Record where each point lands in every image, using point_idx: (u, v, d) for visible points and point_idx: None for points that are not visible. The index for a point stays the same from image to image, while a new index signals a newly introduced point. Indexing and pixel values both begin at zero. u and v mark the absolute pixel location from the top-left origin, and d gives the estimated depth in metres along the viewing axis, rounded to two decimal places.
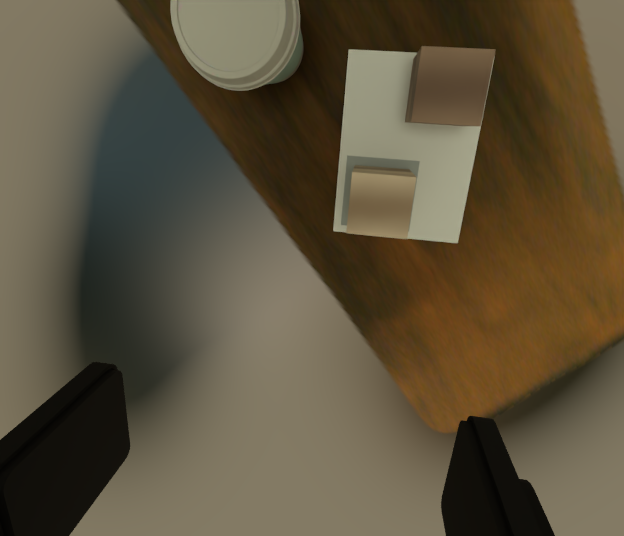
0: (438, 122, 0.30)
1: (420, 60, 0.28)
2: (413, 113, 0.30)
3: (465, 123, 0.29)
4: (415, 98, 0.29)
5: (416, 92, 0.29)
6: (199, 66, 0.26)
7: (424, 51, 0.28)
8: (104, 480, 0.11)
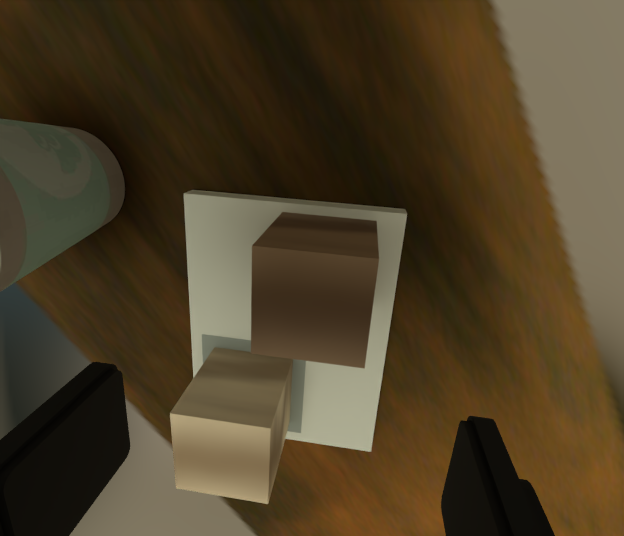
0: (295, 357, 0.17)
1: (253, 266, 0.16)
2: (253, 342, 0.17)
3: (339, 362, 0.17)
4: (252, 321, 0.17)
5: (253, 313, 0.17)
6: None
7: (257, 254, 0.16)
8: (104, 480, 0.11)
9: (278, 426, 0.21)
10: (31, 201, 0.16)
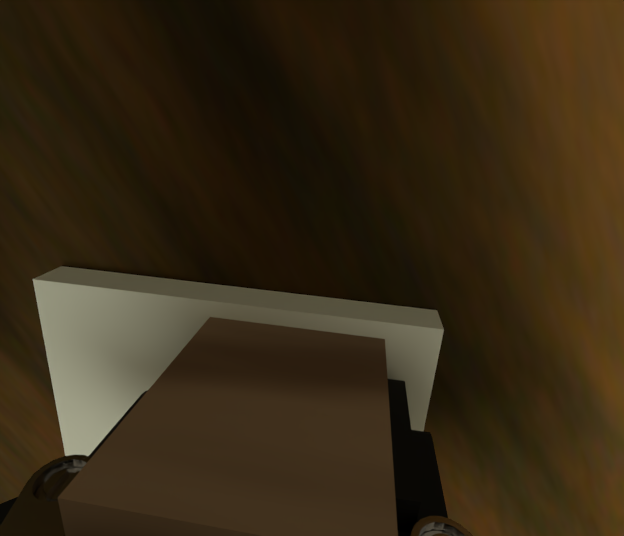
0: None
1: None
2: None
3: None
4: None
5: None
6: None
7: (75, 516, 0.06)
8: None
9: None
10: None
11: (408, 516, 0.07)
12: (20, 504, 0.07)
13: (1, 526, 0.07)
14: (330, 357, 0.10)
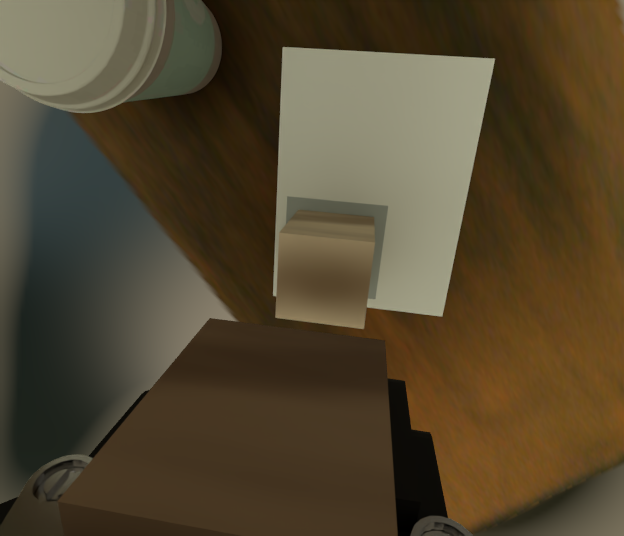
0: None
1: None
2: None
3: None
4: None
5: None
6: None
7: (75, 520, 0.06)
8: None
9: None
10: (178, 1, 0.17)
11: (408, 516, 0.07)
12: (20, 504, 0.07)
13: (1, 526, 0.07)
14: (330, 359, 0.10)
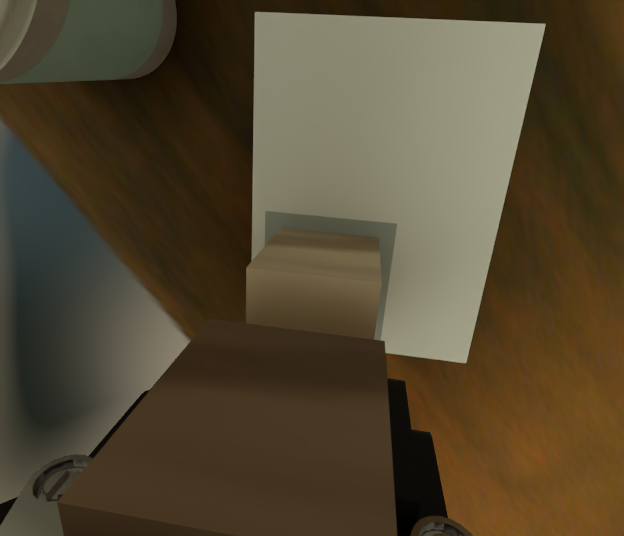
0: None
1: None
2: None
3: None
4: None
5: None
6: None
7: (75, 520, 0.06)
8: None
9: None
10: None
11: (408, 516, 0.07)
12: (20, 504, 0.07)
13: (1, 526, 0.07)
14: (330, 359, 0.10)
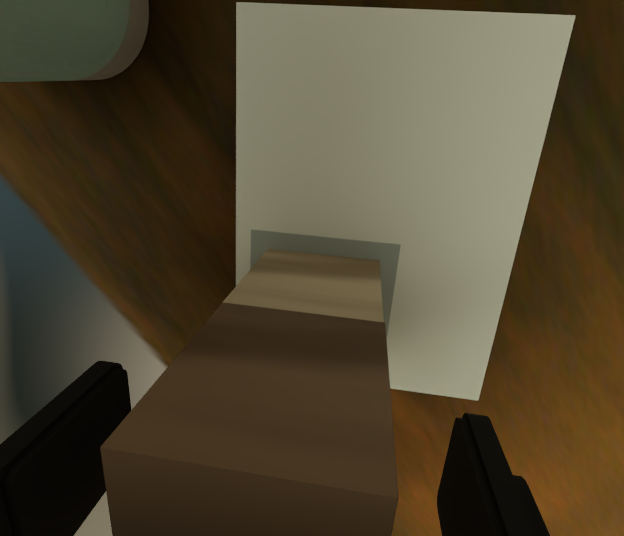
0: None
1: (111, 485, 0.07)
2: None
3: None
4: None
5: None
6: None
7: (115, 464, 0.07)
8: None
9: None
10: None
11: None
12: None
13: None
14: (335, 337, 0.11)
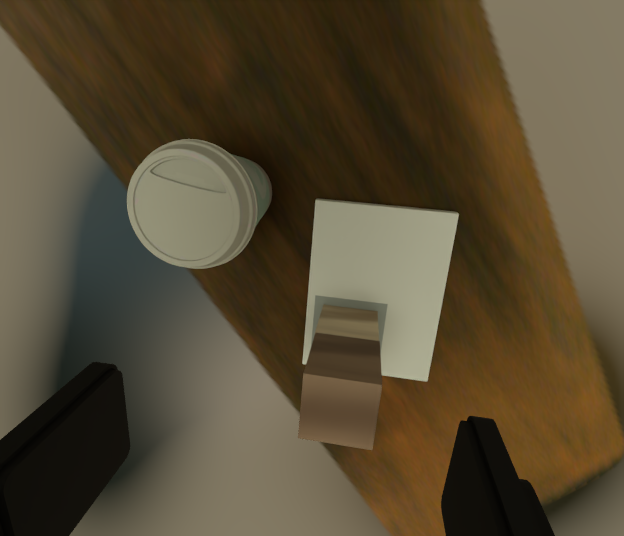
0: (327, 441, 0.27)
1: (303, 385, 0.26)
2: (300, 431, 0.27)
3: (355, 446, 0.27)
4: (300, 418, 0.27)
5: (301, 413, 0.26)
6: (155, 254, 0.26)
7: (306, 378, 0.26)
8: (104, 480, 0.11)
9: None
10: (258, 198, 0.28)
11: None
12: None
13: None
14: (361, 346, 0.30)
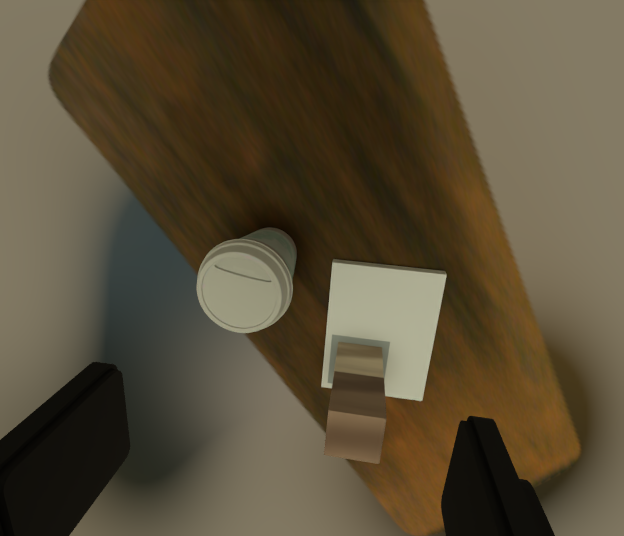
0: (345, 457, 0.36)
1: (328, 418, 0.35)
2: (325, 450, 0.36)
3: (367, 460, 0.36)
4: (326, 441, 0.36)
5: (326, 437, 0.36)
6: (217, 323, 0.35)
7: (330, 413, 0.35)
8: (104, 480, 0.11)
9: None
10: (291, 275, 0.37)
11: None
12: None
13: None
14: (370, 383, 0.39)
